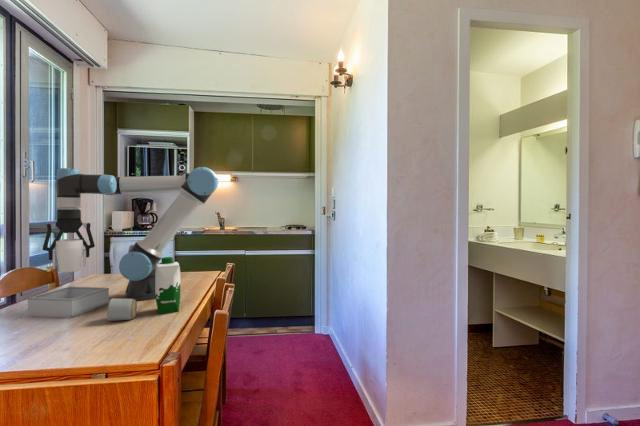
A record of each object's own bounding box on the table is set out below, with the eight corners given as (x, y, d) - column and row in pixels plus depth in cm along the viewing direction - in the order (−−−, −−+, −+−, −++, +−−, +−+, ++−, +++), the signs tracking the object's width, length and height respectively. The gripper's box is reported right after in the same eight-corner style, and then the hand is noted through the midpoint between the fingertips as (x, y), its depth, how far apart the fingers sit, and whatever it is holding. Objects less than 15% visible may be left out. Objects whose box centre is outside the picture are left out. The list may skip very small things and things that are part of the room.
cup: (65, 268, 139) (64, 238, 139) (88, 268, 140) (88, 238, 140) (49, 273, 130) (48, 241, 130) (74, 273, 131) (74, 241, 131)
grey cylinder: (133, 321, 122) (133, 299, 122) (106, 324, 119) (106, 301, 119) (139, 313, 132) (138, 292, 132) (114, 315, 129) (114, 294, 129)
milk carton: (179, 305, 141) (178, 256, 140) (181, 312, 133) (181, 259, 132) (155, 308, 137) (154, 257, 136) (156, 315, 129) (155, 261, 128)
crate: (108, 303, 143) (108, 287, 143) (72, 317, 125) (71, 299, 125) (69, 302, 146) (69, 286, 146) (27, 315, 128) (27, 297, 128)
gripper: (101, 208, 144) (101, 263, 145) (33, 208, 131) (33, 268, 132) (103, 208, 138) (103, 265, 139) (32, 209, 125) (33, 271, 126)
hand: (69, 267), depth 135 cm, fingers closed on cup, 9 cm apart
